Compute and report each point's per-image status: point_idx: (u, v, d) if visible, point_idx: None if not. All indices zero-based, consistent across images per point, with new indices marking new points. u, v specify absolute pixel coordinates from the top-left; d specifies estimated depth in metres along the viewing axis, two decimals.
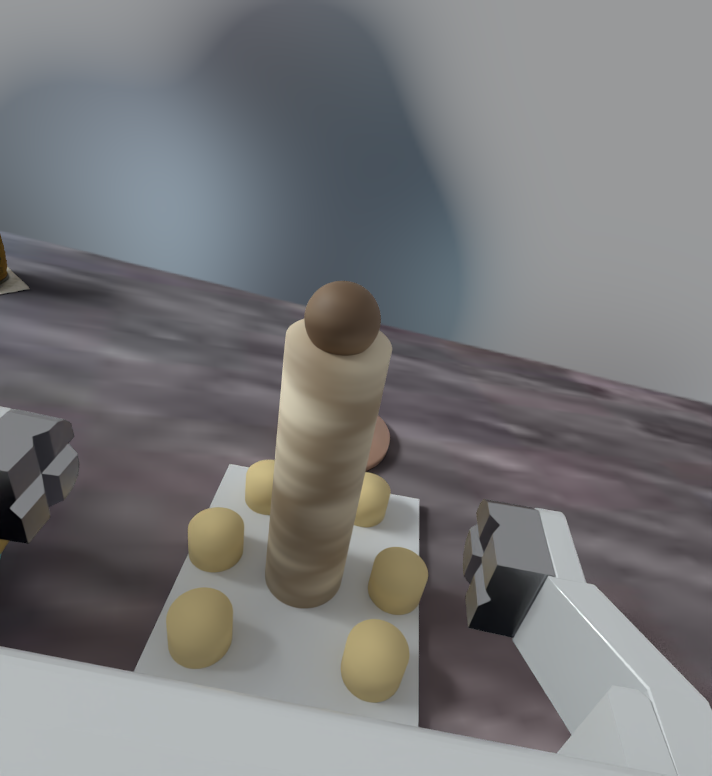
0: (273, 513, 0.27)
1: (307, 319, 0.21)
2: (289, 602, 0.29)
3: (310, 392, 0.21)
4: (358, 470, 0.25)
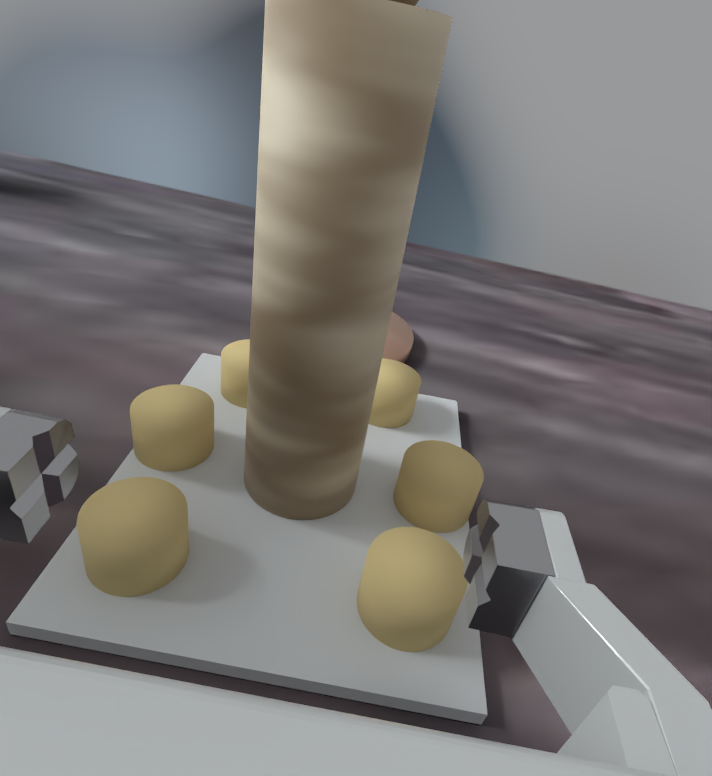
0: (252, 358, 0.17)
1: None
2: (278, 510, 0.20)
3: (310, 66, 0.12)
4: (388, 263, 0.15)
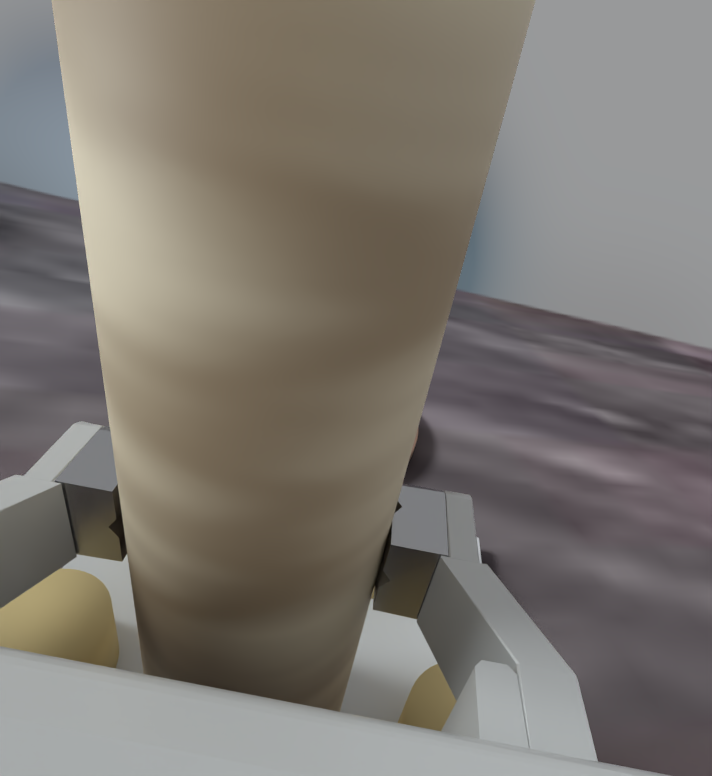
0: (136, 617, 0.10)
1: None
2: None
3: (146, 126, 0.04)
4: (377, 505, 0.07)
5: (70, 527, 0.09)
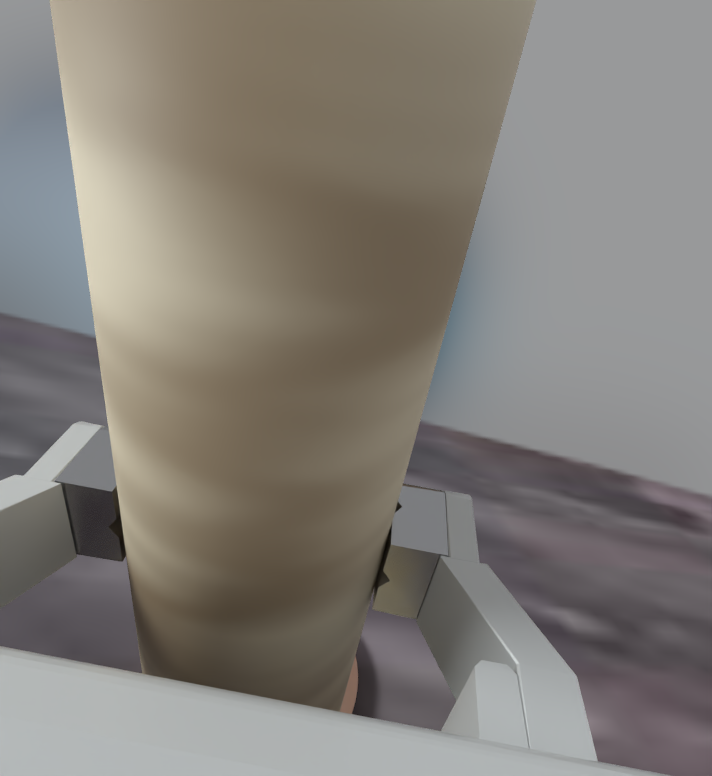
0: (135, 618, 0.10)
1: None
2: None
3: (145, 126, 0.04)
4: (376, 507, 0.07)
5: (70, 527, 0.09)
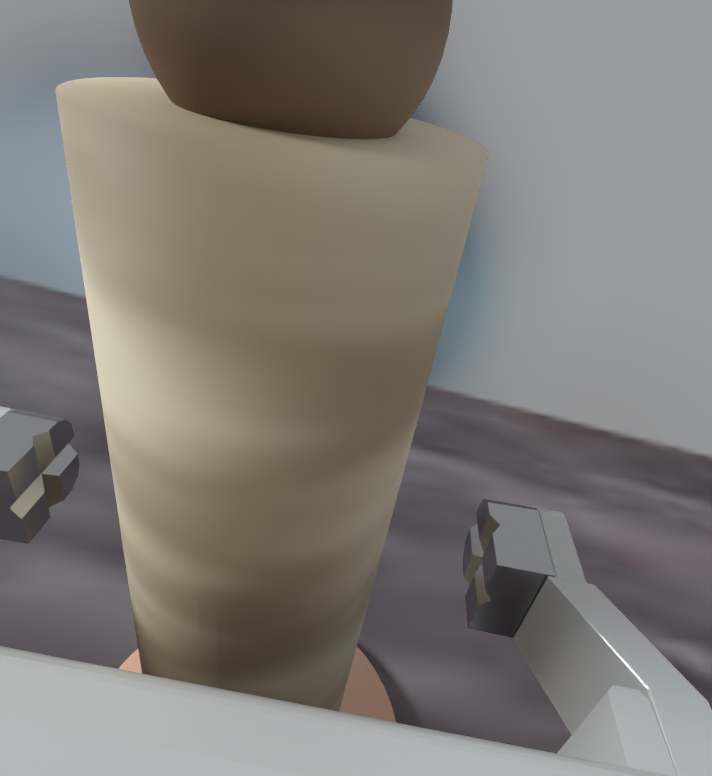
0: (140, 660, 0.10)
1: None
2: None
3: (149, 294, 0.05)
4: (358, 572, 0.08)
5: None
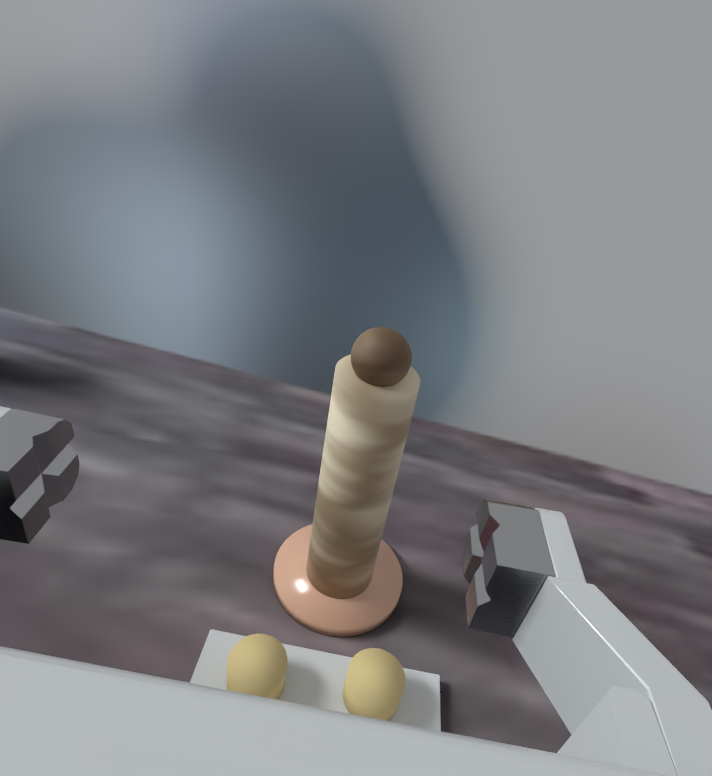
0: (317, 516, 0.32)
1: (354, 357, 0.27)
2: (328, 593, 0.34)
3: (356, 415, 0.27)
4: (390, 479, 0.30)
5: None
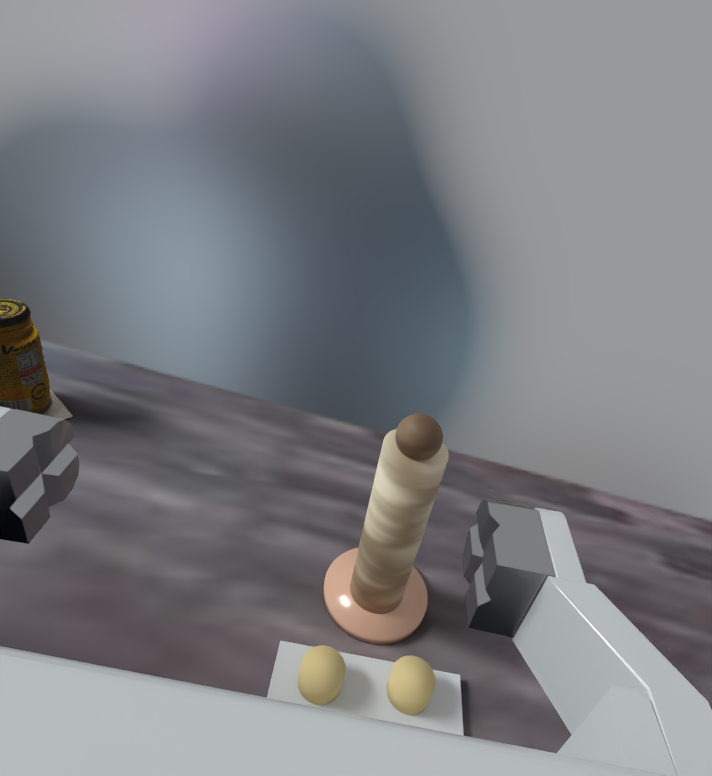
0: (363, 551, 0.41)
1: (398, 439, 0.35)
2: (369, 609, 0.43)
3: (400, 483, 0.35)
4: (423, 526, 0.38)
5: None
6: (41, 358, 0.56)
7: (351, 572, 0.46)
